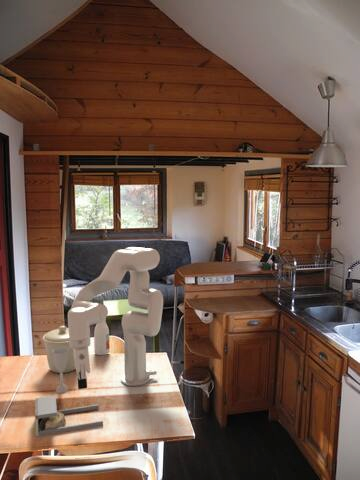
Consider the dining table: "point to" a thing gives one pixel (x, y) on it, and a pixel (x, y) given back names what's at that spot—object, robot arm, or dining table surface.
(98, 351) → the milk bottle
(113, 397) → the dining table surface
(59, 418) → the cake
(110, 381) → the dining table surface
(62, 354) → the chalice
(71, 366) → the canister
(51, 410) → the low barrier
